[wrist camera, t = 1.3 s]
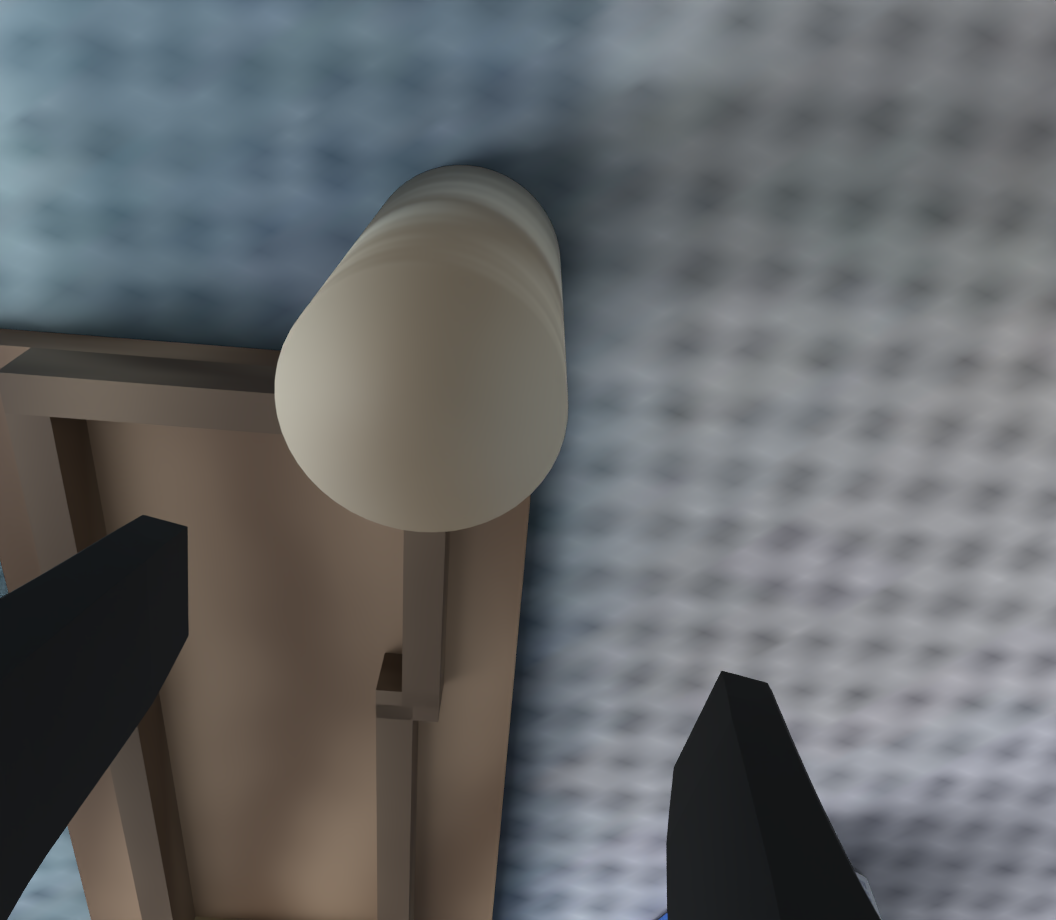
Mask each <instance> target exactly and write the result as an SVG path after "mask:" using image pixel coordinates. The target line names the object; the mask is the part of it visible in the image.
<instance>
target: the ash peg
mask: <svg viewBox="0 0 1056 920" xmlns="http://www.w3.org/2000/svg"><path fill="white" fill-rule="evenodd" d="M275 404H276V412H277V417H278V420H279V424H280V428H281V431H282V434H283V436H284V438H285V441H286V443H287V445H288V448H289V450H290V451H291V453H292V455H293V456H294V458H295V460H296V461H297V463H298V464H299V466H300V467H301V468H302V470H303V471H304V472H305V474H306V475H307V476H308V477H309V478H310V479H311V481H312V482H313V483H314V484H315V485H316V486H317V487H318V488H319V489H320V490H321V491H323V492H324V493H325V494H326V495H328V496H329V497H330V498H331V499H332V500H334V501H335V502H336V503H338V504H340V505H341V506H343V507H344V508H346V509H347V510H349V511H351V512H353V513H355V514H357V515H359V516H361V517H363V518H365V519H367V520H370V521H373V522H375V523H378V524H381V525H384V526H388V527H392V528H396V529H400V530H407V531H414V532H447V531H456V530H460V529H465V528H470V527H473V526H476V525H479V524H483V523H486V522H488V521H490V520H492V519H495V518H497V517H499V516H501V515H503V514H505V513H506V512H508V511H509V510H511V509H513V508H514V507H516V506H517V505H518V504H520V503H521V502H522V501H523V500H524V499H526V498H527V497H528V496H529V495H530V494H531V493H532V492H533V491H534V490H535V489H536V488H537V487H538V486H539V485H540V484H541V483H542V481H543V480H544V478H545V477H546V475H547V474H548V473H549V471H550V470H551V468H552V466H553V464H554V462H555V460H556V458H557V456H558V454H559V452H560V449H561V446H562V443H563V440H564V437H565V431H566V426H567V421H568V391H567V372H566V353H565V334H564V315H563V296H562V278H561V260H560V250H559V245H558V240H557V236H556V233H555V231H554V228H553V225H552V223H551V221H550V219H549V218H548V216H547V214H546V212H545V211H544V209H543V208H542V207H541V205H540V204H539V202H538V201H537V200H536V199H535V198H534V197H533V196H532V195H531V194H530V193H529V192H528V191H527V190H526V189H525V188H523V187H522V186H521V185H520V184H518V183H517V182H515V181H514V180H512V179H510V178H509V177H507V176H505V175H503V174H500V173H498V172H496V171H493V170H490V169H486V168H483V167H477V166H470V165H452V166H443V167H439V168H435V169H432V170H429V171H426V172H424V173H421V174H419V175H417V176H415V177H414V178H412V179H410V180H409V181H407V182H406V183H404V184H403V185H402V186H401V187H399V188H398V189H397V190H396V191H395V192H394V193H393V194H392V195H391V196H390V198H389V199H388V200H387V201H386V202H385V204H384V205H383V206H382V208H381V209H380V210H379V212H378V213H377V214H376V216H375V217H374V218H373V220H372V221H371V222H370V224H369V225H368V226H367V228H366V229H365V230H364V232H363V233H362V234H361V236H360V237H359V238H358V240H357V241H356V242H355V244H354V245H353V246H352V248H351V249H350V250H349V252H348V253H347V254H346V255H345V257H344V258H343V259H342V261H341V262H340V263H339V265H338V266H337V267H336V269H335V270H334V271H333V273H332V274H331V275H330V277H329V278H328V279H327V281H326V282H325V283H324V285H323V286H322V287H321V289H320V290H319V291H318V293H317V294H316V295H315V297H314V298H313V299H312V301H311V302H310V303H309V305H308V306H307V307H306V309H305V310H304V311H303V312H302V314H301V315H300V317H299V318H298V320H297V321H296V322H295V324H294V325H293V327H292V328H291V330H290V332H289V334H288V336H287V338H286V340H285V342H284V344H283V346H282V350H281V353H280V356H279V359H278V362H277V369H276V375H275Z"/></svg>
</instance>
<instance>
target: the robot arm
mask: <svg viewBox="0 0 1056 920" xmlns="http://www.w3.org/2000/svg"><path fill="white" fill-rule="evenodd" d="M188 636H189V620H188V527H187V526H184V525H180V524H176V523H173V522H169V521H165V520H161V519H158V518H154V517H150V516H147V515H141V516H140V517H138V518H136V519H134V520H133V521H131V522H129V523H127V524H126V525H124V526H122V527H120V528H119V529H117V530H115V531H114V532H112V533H110V534H109V535H107V536H105V537H104V538H102V539H100V540H98V541H97V542H95V543H93V544H92V545H90V546H88V547H87V548H85V549H83V550H82V551H80V552H78V553H77V554H75V555H73V556H72V557H70V558H68V559H67V560H65V561H63V562H62V563H60V564H58V565H57V566H55V567H53V568H52V569H50V570H48V571H47V572H45V573H43V574H41V575H40V576H38V577H36V578H34V579H33V580H31V581H29V582H27V583H26V584H24V585H22V586H20V587H19V588H17V589H15V590H13V591H12V592H10V593H8V594H6V595H5V596H3V597H1V598H0V920H7V919H8V917H9V915H10V914H11V912H12V910H13V908H14V907H15V905H16V903H17V901H18V900H19V898H20V896H21V895H22V893H23V891H24V889H25V888H26V886H27V885H28V883H29V881H30V880H31V878H32V877H33V875H34V874H35V872H36V871H37V869H38V868H39V866H40V864H41V863H42V861H43V860H44V858H45V857H46V855H47V854H48V852H49V851H50V849H51V848H52V846H53V845H54V844H55V842H56V841H57V839H58V838H59V837H60V835H61V834H62V832H63V831H64V829H65V828H66V827H67V825H68V824H69V822H70V821H71V820H72V818H73V817H74V815H75V814H76V812H77V811H78V810H79V808H80V807H81V805H82V804H83V803H84V801H85V800H86V798H87V797H88V795H89V794H90V793H91V791H92V790H93V788H94V787H95V786H96V784H97V783H98V781H99V780H100V778H101V777H102V776H103V774H104V773H105V771H106V770H107V769H108V767H109V766H110V764H111V763H112V761H113V760H114V759H115V757H116V756H117V754H118V753H119V751H120V750H121V749H122V747H123V746H124V744H125V743H126V741H127V740H128V739H129V737H130V736H131V734H132V733H133V731H134V730H135V728H136V727H137V726H138V724H139V723H140V721H141V720H142V718H143V717H144V715H145V714H146V712H147V711H148V710H149V708H150V707H151V705H152V704H153V702H154V700H155V698H156V696H157V695H158V693H159V691H160V689H161V687H162V686H163V684H164V682H165V680H166V678H167V676H168V675H169V673H170V671H171V669H172V667H173V665H174V663H175V661H176V659H177V657H178V655H179V653H180V652H181V650H182V648H183V646H184V644H185V642H186V640H187V638H188ZM666 845H667V916H668V920H881V919H880V917H879V915H878V914H877V912H876V910H875V908H874V906H873V904H872V903H871V901H870V899H869V897H868V895H867V894H866V892H865V890H864V888H863V886H862V884H861V883H860V881H859V879H858V877H857V875H856V873H855V871H854V869H853V867H852V865H851V863H850V861H849V859H848V857H847V855H846V853H845V851H844V849H843V847H842V845H841V843H840V841H839V839H838V837H837V835H836V833H835V831H834V829H833V827H832V825H831V823H830V821H829V819H828V817H827V815H826V813H825V811H824V808H823V806H822V804H821V802H820V800H819V798H818V796H817V794H816V791H815V789H814V787H813V785H812V783H811V780H810V778H809V776H808V774H807V772H806V769H805V767H804V765H803V763H802V760H801V758H800V756H799V754H798V751H797V749H796V747H795V744H794V742H793V740H792V737H791V735H790V733H789V730H788V728H787V726H786V723H785V721H784V719H783V716H782V714H781V711H780V709H779V707H778V704H777V702H776V700H775V697H774V695H773V692H772V690H771V689H770V687H769V685H768V683H765V682H762V681H758V680H754V679H751V678H747V677H743V676H740V675H736V674H732V673H728V672H725V671H721V673H720V675H719V677H718V679H717V681H716V683H715V685H714V687H713V689H712V691H711V693H710V695H709V697H708V699H707V701H706V703H705V705H704V707H703V709H702V712H701V714H700V716H699V718H698V720H697V722H696V724H695V726H694V728H693V730H692V732H691V734H690V736H689V738H688V740H687V742H686V744H685V746H684V748H683V750H682V752H681V754H680V756H679V758H678V760H677V762H676V764H675V766H674V771H673V781H672V790H671V800H670V809H669V820H668V832H667V843H666Z"/></svg>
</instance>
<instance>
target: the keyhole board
mask: <svg viewBox="0 0 1056 920" xmlns="http://www.w3.org/2000/svg"><path fill="white" fill-rule="evenodd" d="M280 353H281V351H279V350H266V349H253V348H240V347H228V346H215V345H202V344H190V343H177V342H164V341H151V340H139V339H126V338H113V337H100V336H88V335H75V334H62V333H49V332H37V331H24V330H11V329H0V561H1V565H2V569H3V573H4V577H5V581H6V585H7V589H8V593H10V592H12V591H13V590H15V589H17V588H19V587H20V586H22V585H24V584H26V583H27V582H29V581H31V580H33V579H34V578H36V577H38V576H40V575H41V574H43V573H45V572H47V571H48V570H50V569H52V568H53V567H55V566H57V565H58V564H60V563H62V562H63V561H65V560H67V559H68V558H70V557H72V556H73V555H75V554H77V553H78V552H80V551H82V550H83V549H85V548H87V547H88V546H90V545H92V544H93V543H95V542H97V541H98V540H100V539H102V538H104V537H105V536H107V535H109V534H110V533H112V532H114V531H115V530H117V529H119V528H120V527H122V526H124V525H126V524H127V523H129V522H131V521H133V520H134V519H136V518H138V517H140V516H141V515H147V516H150V517H154V518H158V519H161V520H165V521H169V522H173V523H176V524H180V525H184V526H187V527H188V620H189V636H188V638H187V640H186V642H185V644H184V646H183V648H182V650H181V652H180V653H179V655H178V657H177V659H176V661H175V663H174V665H173V667H172V669H171V671H170V673H169V675H168V676H167V678H166V680H165V682H164V684H163V686H162V687H161V689H160V691H159V693H158V695H157V696H156V698H155V700H154V702H153V704H152V705H151V707H150V708H149V710H148V711H147V712H146V714H145V715H144V717H143V718H142V720H141V721H140V723H139V724H138V726H137V727H136V728H135V730H134V731H133V733H132V734H131V736H130V737H129V739H128V740H127V741H126V743H125V744H124V746H123V747H122V749H121V750H120V751H119V753H118V754H117V756H116V757H115V759H114V760H113V761H112V763H111V764H110V766H109V767H108V769H107V770H106V771H105V773H104V774H103V776H102V777H101V778H100V780H99V781H98V783H97V784H96V786H95V787H94V788H93V790H92V791H91V793H90V794H89V795H88V797H87V798H86V800H85V801H84V803H83V804H82V805H81V807H80V808H79V810H78V811H77V812H76V814H75V815H74V817H73V818H72V820H71V821H70V822H69V824H68V825H67V826H68V830H69V834H70V837H71V841H72V845H73V849H74V853H75V857H76V861H77V865H78V869H79V873H80V877H81V881H82V885H83V889H84V893H85V897H86V901H87V905H88V909H89V913H90V916H91V920H492V914H493V903H494V892H495V881H496V870H497V859H498V848H499V837H500V826H501V815H502V804H503V793H504V782H505V771H506V760H507V749H508V738H509V727H510V716H511V705H512V694H513V683H514V672H515V661H516V650H517V639H518V628H519V617H520V606H521V595H522V584H523V573H524V562H525V551H526V540H527V529H528V518H529V507H530V496H531V494H530V495H529V496H528V497H527V498H526V499H524V500H523V501H522V502H521V503H520V504H518V505H517V506H516V507H514V508H513V509H511V510H509V511H508V512H506V513H505V514H503V515H501V516H499V517H497V518H495V519H492V520H490V521H488V522H486V523H483V524H479V525H476V526H473V527H470V528H465V529H460V530H456V531H447V532H414V531H407V530H400V529H396V528H392V527H388V526H384V525H381V524H378V523H375V522H373V521H370V520H367V519H365V518H363V517H361V516H359V515H357V514H355V513H353V512H351V511H349V510H347V509H346V508H344V507H343V506H341V505H340V504H338V503H336V502H335V501H334V500H332V499H331V498H330V497H329V496H328V495H326V494H325V493H324V492H323V491H321V490H320V489H319V488H318V487H317V486H316V485H315V484H314V483H313V482H312V481H311V479H310V478H309V477H308V476H307V475H306V474H305V472H304V471H303V470H302V468H301V467H300V466H299V464H298V463H297V461H296V460H295V458H294V456H293V455H292V453H291V451H290V450H289V448H288V445H287V443H286V441H285V438H284V436H283V434H282V431H281V428H280V424H279V420H278V417H277V412H276V404H275V375H276V369H277V362H278V359H279V356H280Z"/></svg>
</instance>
